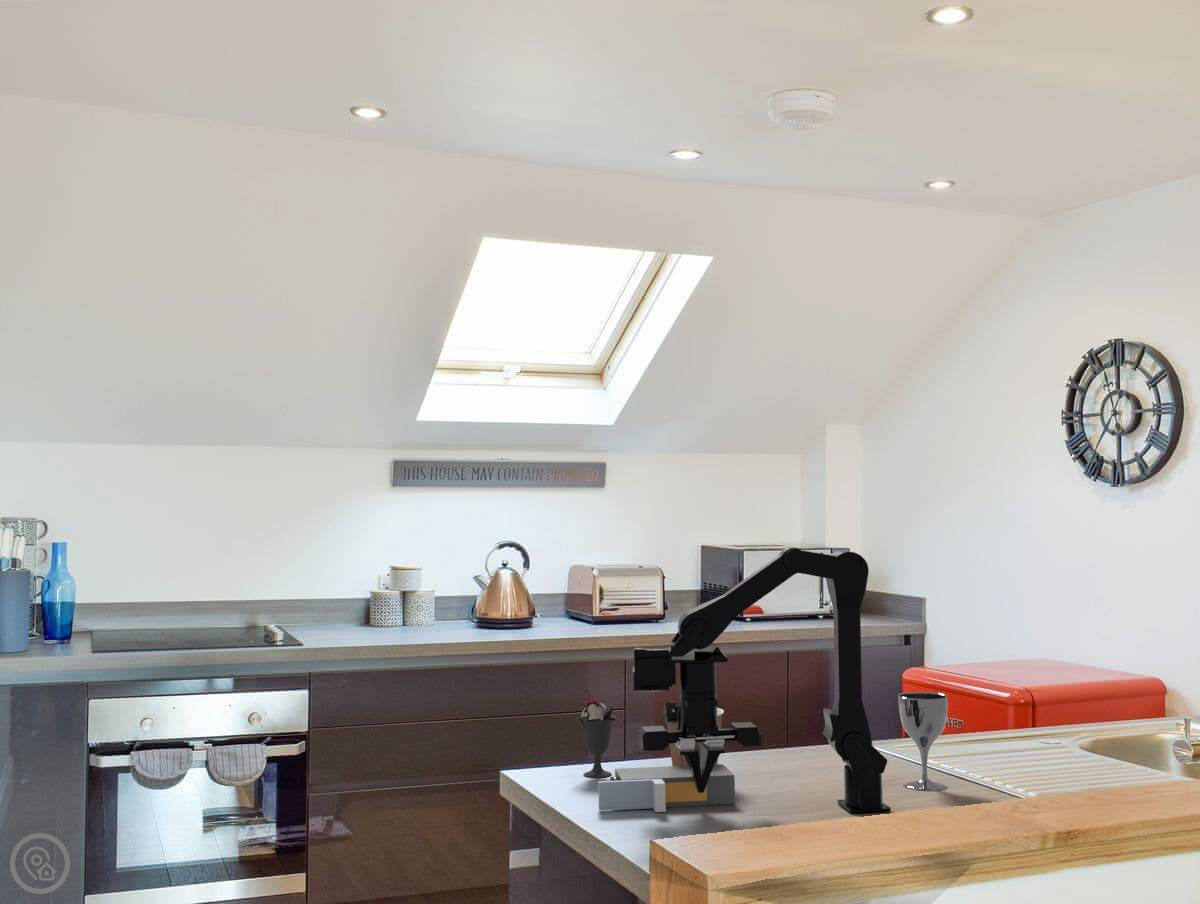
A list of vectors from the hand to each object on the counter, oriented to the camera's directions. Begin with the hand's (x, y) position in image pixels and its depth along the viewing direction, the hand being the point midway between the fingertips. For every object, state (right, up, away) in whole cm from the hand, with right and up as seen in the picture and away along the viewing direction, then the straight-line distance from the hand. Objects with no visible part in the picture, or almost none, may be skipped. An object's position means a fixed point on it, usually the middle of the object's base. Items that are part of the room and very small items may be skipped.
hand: (700, 792), depth 180 cm
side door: (-11, -3, -1) cm, 11 cm away
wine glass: (+39, -3, +13) cm, 41 cm away
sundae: (-16, -4, +24) cm, 30 cm away
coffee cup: (+1, -4, +19) cm, 19 cm away
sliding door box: (-4, -3, +6) cm, 8 cm away
